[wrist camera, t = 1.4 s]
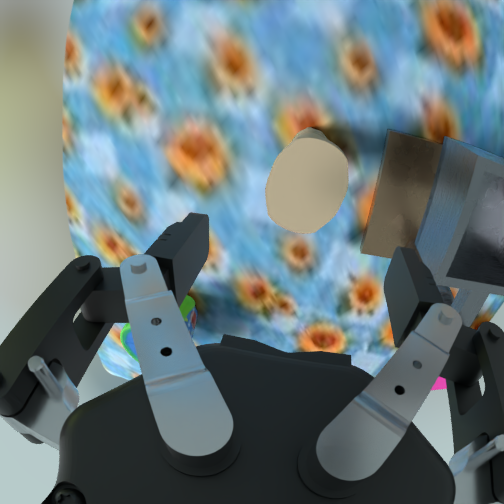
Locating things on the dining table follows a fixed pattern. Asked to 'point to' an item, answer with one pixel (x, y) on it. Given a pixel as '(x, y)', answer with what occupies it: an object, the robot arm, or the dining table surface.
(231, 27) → the dining table surface
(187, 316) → the snack cup
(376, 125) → the dining table surface
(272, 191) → the handle
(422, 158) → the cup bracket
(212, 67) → the dining table surface
